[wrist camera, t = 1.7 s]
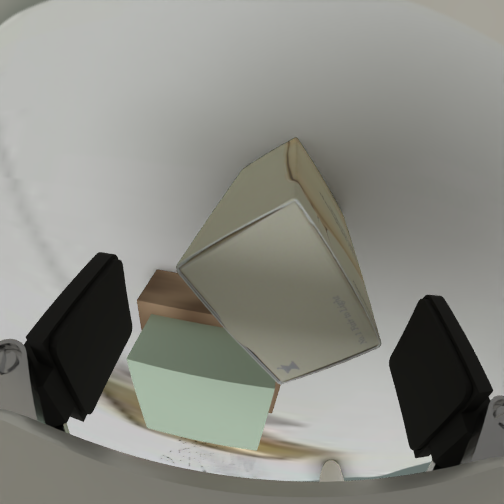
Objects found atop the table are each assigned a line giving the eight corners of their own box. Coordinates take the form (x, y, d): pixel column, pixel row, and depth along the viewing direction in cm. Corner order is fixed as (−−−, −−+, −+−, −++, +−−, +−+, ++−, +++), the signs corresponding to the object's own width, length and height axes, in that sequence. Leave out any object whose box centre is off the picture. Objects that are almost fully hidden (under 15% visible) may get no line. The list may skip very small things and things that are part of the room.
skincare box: (343, 214, 20) (390, 348, 10) (287, 244, 22) (280, 390, 11) (294, 132, 18) (302, 192, 7) (235, 169, 20) (169, 270, 9)
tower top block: (279, 336, 21) (274, 388, 17) (262, 406, 25) (256, 450, 21) (151, 313, 21) (126, 358, 17) (162, 387, 25) (147, 427, 21)
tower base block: (296, 287, 24) (296, 327, 20) (275, 376, 29) (271, 413, 25) (159, 266, 24) (136, 300, 21) (167, 357, 30) (153, 391, 26)
